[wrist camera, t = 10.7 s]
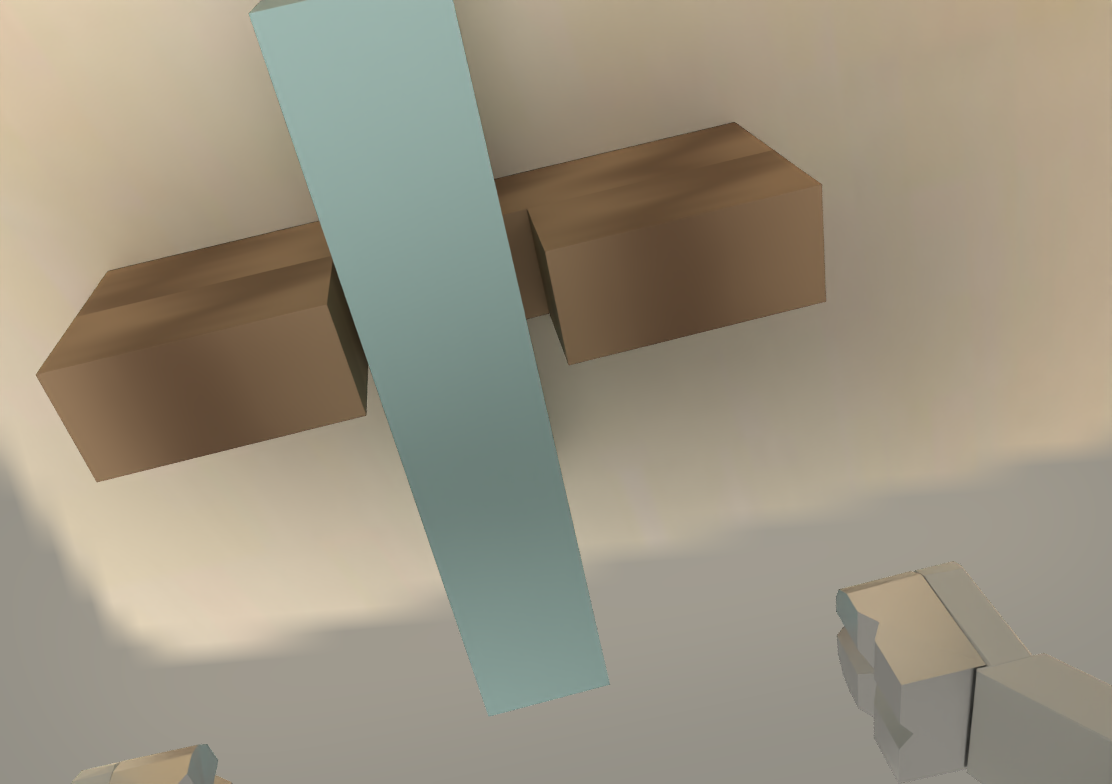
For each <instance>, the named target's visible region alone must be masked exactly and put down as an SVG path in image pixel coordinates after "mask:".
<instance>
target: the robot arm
mask: <svg viewBox="0 0 1112 784" xmlns="http://www.w3.org/2000/svg"><path fill="white" fill-rule="evenodd" d="M836 612H837V613H838V615H839V617H840V619H841V620H842V622H843V624H844V627H843V628H842V630H841V631H840V632H839V634H838V635H837V645H838V656H839V660H840V664H841V668H842V672H843V675H844V678H845V681H846V683H847V686H848V688H849V691H850V693H851V695H852V697H853V699H854V701H855V703H856V705H857V707H858V708H859V709H860V710H862V711H864V712H866V713H867V714H869V715H871V716H872V717H874V739H875V741H876V742H877V745H878V746H879V748H880V750H881V752H882V754H883V756H884V758H885V759H886V761H887V763H888V765H889V767H890V769H891V771H892V772H893V774H894V776H895V778H896V780H897V782H898V783H899V784H900V783H905V782H910V781H914V780H919V779H923V778H928V777H933V776H937V775H942V774H946V773H951V772H956V771H960V770H964V769H967V773H968V774H969V775H971V776H972V777H973V778H975V779H976V780H978V781H979V782H980V783H982V784H1112V685H1110V684H1107V683H1105V682H1103V681H1101V680H1099V679H1097V678H1095V677H1093V676H1091V675H1089V674H1087V673H1085V672H1083V671H1081V670H1078V669H1076V668H1074V667H1072V666H1070V665H1068V664H1066V663H1064V662H1062V661H1060V660H1058V659H1056V658H1054V657H1051V656H1049V655H1047V654H1045V653H1041V654H1037V655H1032V654H1031V653H1030V652H1029V651H1028V649H1027V648H1026V647H1025V645H1024V644H1023V643H1022V642H1021V640H1020V639H1019V638H1018V637H1017V635H1016V634H1015V633H1014V632H1013V630H1012V629H1011V628H1010V627H1009V625H1008V624H1007V623H1006V621H1005V620H1004V619H1003V618H1002V616H1001V615H1000V614H999V613H998V611H997V610H996V609H995V607H994V606H993V605H992V604H991V602H990V601H989V600H988V599H987V597H986V596H985V595H984V594H983V592H982V591H981V590H980V588H979V587H978V586H977V585H976V583H975V582H974V581H973V580H972V578H971V577H970V576H969V575H968V573H966V571H965V570H964V568H963V567H962V566H961V565H959V564H958V563H956V562H954V561H952V562H948V563H944V564H940V565H935V566H931V567H928V568H923V569H920V570H915V571H914V572H912V571H909V572H905V573H901V574H898V575H894V576H890V577H886V578H882V579H878V580H874V581H870V582H866V583H862V584H858V585H854V586H850V587H847V588H842V589H839V590H838V593H837V596H836ZM217 764H218V759H217V758H216V756H215V755H214V753H213V752H212V750H211V749H210V748H209V746H208V745H207V744H203V745H195V746H190V747H186V748H181V749H177V750H171V751H167V752H162V753H158V754H153V755H149V756H143V757H139V758H134V759H129V760H125V761H121V762H118V763H113V764H109V765H104V766H100V767H95V768H91V769H86V770H82V771H81V772H80V773H79V774H78V775H77V777H76V778H75V779H74V780H73V781H72V783H71V784H232V782H230V781H227V780H225V779H223V778H221V777H218V776H216V775H215V774H216V769H217Z"/></svg>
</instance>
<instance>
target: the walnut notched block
mask: <svg viewBox="0 0 1112 784" xmlns="http://www.w3.org/2000/svg"><path fill="white" fill-rule="evenodd" d="M494 182H495V186H496V190H497V195H498V199H499V203H500V208H501V212H502V216H503V221H504V225H505V230H506V234H507V238H508V243H509V247H510V251H511V256H512V260H513V264H514V269H515V273H516V278H517V282H518V286H519V291H520V295H521V299H522V304H523V308H524V312H525V317H526V319H529V318H533V317H537V316H541V315H545V314H550V316H551V319H552V322H553V324H554V327H555V330H556V332H557V335H558V338H559V340H560V343H561V346H562V349H563V351H564V354H565V357H566V359H567V362H568V365H572V364H576V363H580V362H584V361H588V360H592V359H596V358H600V357H604V356H608V355H612V354H616V353H620V352H624V351H628V350H632V349H636V348H640V347H644V346H648V345H652V344H657V343H661V342H665V341H669V340H673V339H677V338H681V337H685V336H689V335H693V334H697V333H701V332H705V331H709V330H713V329H717V328H721V327H725V326H729V325H733V324H737V323H741V322H745V321H749V320H753V319H757V318H761V317H765V316H769V315H773V314H777V313H782V312H786V311H790V310H794V309H798V308H802V307H806V306H810V305H814V304H818V303H822V302H826V291H825V263H824V234H823V206H822V184H820V183H819V182H818V181H816V180H815V179H813V178H812V177H811V176H809V175H808V174H806V173H805V172H804V171H802V170H801V169H799V168H798V167H797V166H795V165H794V164H792V163H791V162H790V161H788V160H787V159H785V158H784V157H783V156H781V155H780V154H778V153H777V152H776V151H774V150H773V149H771V148H770V147H769V146H767V145H766V144H764V143H763V142H762V141H760V140H759V139H757V138H756V137H755V136H753V135H752V134H750V133H749V132H748V131H746V130H745V129H744V128H742V127H741V126H739V125H738V124H737V123H735V122H733V123H729V124H725V125H721V126H717V127H712V128H708V129H704V130H700V131H696V132H691V133H687V134H683V135H679V136H675V137H670V138H666V139H662V140H658V141H654V142H649V143H645V144H641V145H637V146H633V147H628V148H624V149H620V150H616V151H611V152H607V153H603V154H599V155H595V156H590V157H586V158H582V159H578V160H574V161H569V162H565V163H561V164H557V165H553V166H548V167H544V168H540V169H536V170H532V171H527V172H523V173H519V174H515V175H511V176H506V177H502V178H498V179H494ZM36 376H37V378H38V380H39V381H40V383H41V385H42V387H43V388H44V390H45V392H46V394H47V396H48V397H49V399H50V401H51V403H52V404H53V406H54V408H55V410H56V411H57V413H58V415H59V417H60V418H61V420H62V422H63V424H64V425H65V427H66V429H67V431H68V432H69V434H70V436H71V438H72V439H73V441H74V443H75V445H76V446H77V448H78V450H79V452H80V454H81V455H82V457H83V459H84V461H85V462H86V464H87V466H88V468H89V469H90V471H91V473H92V475H93V476H94V478H95V480H96V482H100V481H104V480H108V479H112V478H116V477H120V476H124V475H128V474H132V473H136V472H140V471H144V470H149V469H153V468H157V467H161V466H165V465H169V464H173V463H177V462H181V461H185V460H189V459H193V458H197V457H201V456H205V455H209V454H213V453H217V452H221V451H225V450H229V449H233V448H237V447H241V446H245V445H249V444H253V443H257V442H261V441H265V440H269V439H274V438H278V437H282V436H286V435H290V434H294V433H298V432H302V431H306V430H310V429H314V428H318V427H322V426H326V425H330V424H334V423H338V422H342V421H346V420H350V419H354V418H358V417H362V416H366V409H367V381H368V362H367V359H366V356H365V353H364V350H363V347H362V344H361V341H360V338H359V335H358V332H357V329H356V326H355V324H354V321H353V318H352V315H351V312H350V309H349V306H348V303H347V300H346V297H345V294H344V291H343V288H342V285H341V283H340V280H339V277H338V274H337V271H336V268H335V265H334V262H333V259H332V256H331V253H330V250H329V247H328V244H327V242H326V239H325V236H324V233H323V230H322V227H321V224H320V221H317V222H313V223H309V224H304V225H300V226H296V227H292V228H288V229H283V230H279V231H275V232H271V233H267V234H262V235H258V236H254V237H250V238H246V239H241V240H237V241H233V242H229V243H225V244H220V245H216V246H212V247H208V248H204V249H199V250H195V251H191V252H187V253H183V254H178V255H174V256H170V257H166V258H161V259H157V260H153V261H149V262H145V263H140V264H136V265H132V266H128V267H124V268H119V269H115V270H111V271H107V273H106V274H105V276H104V277H103V279H102V280H101V282H100V283H99V284H98V286H97V287H96V289H95V290H94V292H93V293H92V294H91V296H90V297H89V299H88V300H87V302H86V303H85V305H84V306H83V307H82V309H81V310H80V312H79V313H78V315H77V316H76V317H75V319H74V320H73V322H72V323H71V325H70V326H69V328H68V329H67V330H66V332H65V333H64V335H63V336H62V338H61V339H60V341H59V342H58V343H57V345H56V346H55V348H54V349H53V351H52V352H51V353H50V355H49V356H48V358H47V359H46V361H45V362H44V364H43V365H42V366H41V368H40V369H39V371H38V372H37V374H36Z"/></svg>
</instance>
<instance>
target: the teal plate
mask: <svg viewBox="0 0 1112 784" xmlns="http://www.w3.org/2000/svg"><path fill="white" fill-rule="evenodd" d="M249 16H250V19H251V22H252V25H253V28H254V31H255V34H256V37H257V39H258V42H259V45H260V48H261V51H262V54H263V57H264V60H265V63H266V66H267V69H268V72H269V75H270V78H271V80H272V83H273V86H274V89H275V92H276V95H277V98H278V101H279V104H280V107H281V110H282V113H283V116H284V119H285V121H286V124H287V127H288V130H289V133H290V136H291V139H292V142H293V145H294V148H295V151H296V154H297V157H298V160H299V162H300V165H301V168H302V171H303V174H304V177H305V180H306V183H307V186H308V189H309V192H310V195H311V198H312V201H313V203H314V206H315V209H316V212H317V215H318V218H319V221H320V224H321V227H322V230H323V233H324V236H325V239H326V242H327V244H328V247H329V250H330V253H331V256H332V259H333V262H334V265H335V268H336V271H337V274H338V277H339V280H340V283H341V285H342V288H343V291H344V294H345V297H346V300H347V303H348V306H349V309H350V312H351V315H352V318H353V321H354V324H355V326H356V329H357V332H358V335H359V338H360V341H361V344H362V347H363V350H364V353H365V356H366V359H367V362H368V365H369V367H370V370H371V373H372V376H373V379H374V382H375V385H376V388H377V391H378V394H379V397H380V400H381V403H382V406H383V408H384V411H385V414H386V417H387V420H388V423H389V426H390V429H391V432H392V435H393V438H394V441H395V444H396V447H397V449H398V452H399V455H400V458H401V461H402V464H403V467H404V470H405V473H406V476H407V479H408V482H409V485H410V488H411V490H412V493H413V496H414V499H415V502H416V505H417V508H418V511H419V514H420V517H421V520H422V523H423V526H424V529H425V531H426V534H427V537H428V540H429V543H430V546H431V549H432V552H433V555H434V558H435V561H436V564H437V567H438V570H439V572H440V575H441V578H442V581H443V584H444V587H445V590H446V593H447V596H448V599H449V602H450V605H451V608H452V610H453V613H454V616H455V619H456V622H457V625H458V628H459V631H460V634H461V636H462V640H463V643H464V646H465V649H466V652H467V654H468V657H469V660H470V663H471V666H472V669H473V672H474V675H475V678H476V680H477V684H478V687H479V689H480V692H481V695H482V698H483V701H484V704H485V707H486V710H487V712H488V716H493V715H496V714H500V713H504V712H508V711H511V710H515V709H519V708H523V707H527V706H530V705H534V704H538V703H542V702H546V701H549V700H553V699H557V698H561V697H564V696H568V695H572V694H576V693H579V692H583V691H587V690H591V689H595V688H599V687H602V686H606V685H610V683H609V679H608V675H607V670H606V666H605V661H604V657H603V653H602V649H601V645H600V640H599V635H598V632H597V627H596V622H595V618H594V614H593V609H592V605H591V600H590V596H589V592H588V587H587V583H586V579H585V574H584V570H583V565H582V561H581V557H580V552H579V548H578V544H577V539H576V535H575V531H574V526H573V522H572V517H571V513H570V509H569V504H568V500H567V496H566V491H565V487H564V483H563V478H562V474H561V469H560V465H559V461H558V456H557V452H556V448H555V443H554V439H553V435H552V430H551V426H550V421H549V417H548V413H547V408H546V404H545V400H544V395H543V391H542V387H541V382H540V378H539V374H538V369H537V365H536V360H535V356H534V352H533V347H532V343H531V339H530V334H529V330H528V326H527V321H526V317H525V312H524V308H523V304H522V299H521V295H520V291H519V286H518V282H517V278H516V273H515V269H514V264H513V260H512V256H511V251H510V247H509V243H508V238H507V234H506V230H505V225H504V221H503V216H502V212H501V208H500V203H499V199H498V195H497V190H496V186H495V182H494V177H493V173H492V168H491V164H490V160H489V155H488V151H487V147H486V142H485V138H484V134H483V129H482V125H481V121H480V116H479V112H478V107H477V103H476V99H475V94H474V90H473V86H472V81H471V77H470V73H469V68H468V64H467V59H466V55H465V51H464V46H463V42H462V38H461V33H460V29H459V25H458V20H457V16H456V11H455V7H454V3H453V0H261V1H260V2H259V3H258V4H257V5H256V6H255V7H254V8H253V9H252V11H251V12H250V13H249Z"/></svg>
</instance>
